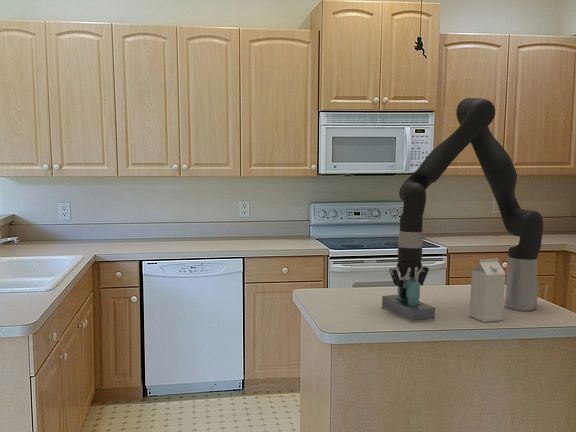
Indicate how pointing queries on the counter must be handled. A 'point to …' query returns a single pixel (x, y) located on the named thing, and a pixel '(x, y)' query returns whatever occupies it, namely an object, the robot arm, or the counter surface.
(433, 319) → the grey socket block
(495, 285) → the milk carton
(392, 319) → the counter surface
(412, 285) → the teal elongated block
